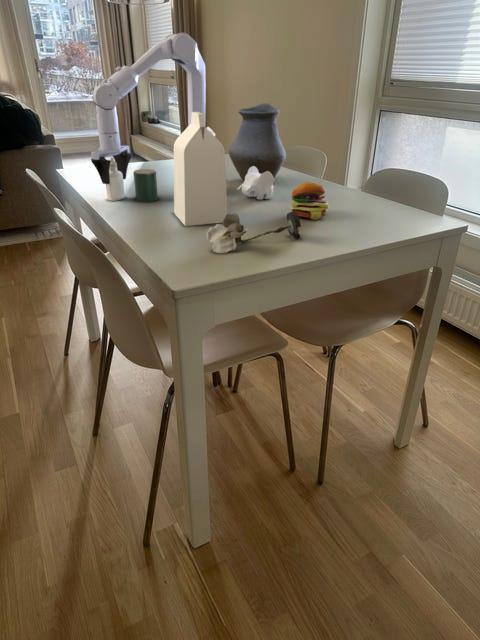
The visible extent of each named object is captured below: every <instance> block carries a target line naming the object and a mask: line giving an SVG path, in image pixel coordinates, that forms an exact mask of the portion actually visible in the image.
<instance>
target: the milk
mask: <svg viewBox="0 0 480 640" xmlns="http://www.w3.org/2000/svg"><path fill="white" fill-rule="evenodd" d="M216 136H217V134H216V133H215V132H214V130H213V129H212V128H211V127H210V126H207V127H206V119H205V120H204V114H202V113H199V112H192V115H191V124H190V125H189V126H188V125H187V127H186V128H185V129H184V130H183V131H182V132H181V134H180V135H179V136H178V137H177V138H176V140H175V141H174V144H173V207H174V208H173V212H174V213H173V214H174V215H175V216H176V217H177V218H178V220H179V221H180V222H181V223H182V224H183V225H184V226H185V227H189V226H191V227H192V226H201V225H211V224H224V223H223V220H224V218H225V215H226V214H228V202H227V201H228V200H227V180H226V179H227V173H226V171H227V170H226V151H225V147H224V145H223V144H222V142H221V141H220V140H219V139H218V138H217V137H216Z"/></svg>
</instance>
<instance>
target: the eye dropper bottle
mask: <svg viewBox="0 0 480 640" xmlns="http://www.w3.org/2000/svg"><path fill="white" fill-rule="evenodd" d="M109 160H111V163H110V168H109V177H110V183H109V184H105V189H106V198H107V201H111V202H116V201H120V200H123V199H125V198H126V191H125V190H126V189H125V183H124V181H125V180H124V179H123V174H122V172H120V171H117V163H116V162H115V160H114V157H110V159H109Z"/></svg>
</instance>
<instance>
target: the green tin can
mask: <svg viewBox="0 0 480 640" xmlns="http://www.w3.org/2000/svg"><path fill="white" fill-rule="evenodd" d="M132 174H133V185H134V193H135V195H134V196H135V200H136V201H137V202H141V203H149V202H155V201H157V200H158V184H157V183H158V181H157V172H156V170H155V169H150V168H140V169H135V170H134V171H133V173H132Z"/></svg>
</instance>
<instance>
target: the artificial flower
mask: <svg viewBox="0 0 480 640" xmlns="http://www.w3.org/2000/svg"><path fill="white" fill-rule="evenodd" d="M285 218H286V221H287V226H283V227H278V229H274V230H270V231H266V232H264V233H260V234H257V235H255V236H252V237H251V238H247V239H242V236H244V235H245V234H246V233H247V231H248V229H249V227H246V228H245V229H244V225H243V224H241V222H240V221H241V220H240V216H239V214H237V213H231V214H230V213H227V214H226V215H225V218H224V220H223V223H215V225H214V226H210V227H209V228H208V230H207V231H206V240H207V241H208V242H209V243H213V244H212V249H213V252H214V253H217V254H227V253H228V252H229V251H235V250H236V248H237V244H238V243H239V244H240V243H242V244H243V243H246V242H248V241H252V240H255V239H257V238H260V237H262V236H266V235H269V234H273V233H274V234H276V233H277V234H279V233H282V232H283V231H285V230H287V232H288V234H289V236H290V237H292V238H294V239H297V240H298V239H300V238H301V237H302V234H301V233H299V228H301V227H302V224H301V220H300V216H298V215H297V214H296V212H294V211H292V210H291V212H290V211H289V212H288V213H286V217H285Z"/></svg>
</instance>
